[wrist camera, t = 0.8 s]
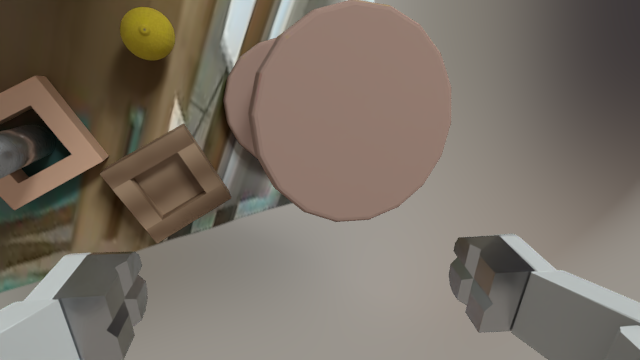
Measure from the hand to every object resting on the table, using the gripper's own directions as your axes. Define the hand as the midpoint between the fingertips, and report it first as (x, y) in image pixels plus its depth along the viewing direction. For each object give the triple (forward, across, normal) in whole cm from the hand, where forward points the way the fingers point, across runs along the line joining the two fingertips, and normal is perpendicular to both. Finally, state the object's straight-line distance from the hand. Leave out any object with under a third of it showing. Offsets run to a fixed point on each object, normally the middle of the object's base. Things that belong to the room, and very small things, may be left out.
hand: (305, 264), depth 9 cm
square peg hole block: (+39, +15, +14) cm, 44 cm away
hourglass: (+44, -1, +5) cm, 44 cm away
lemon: (+42, +16, -3) cm, 45 cm away
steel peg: (+36, +29, +8) cm, 48 cm away
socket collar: (+36, +29, +8) cm, 48 cm away
